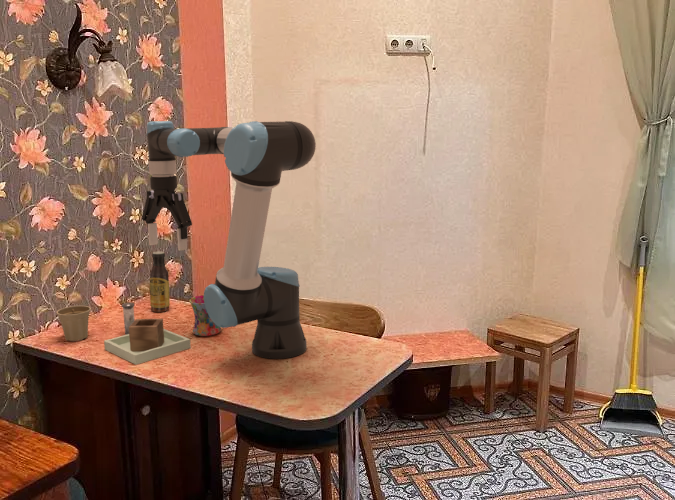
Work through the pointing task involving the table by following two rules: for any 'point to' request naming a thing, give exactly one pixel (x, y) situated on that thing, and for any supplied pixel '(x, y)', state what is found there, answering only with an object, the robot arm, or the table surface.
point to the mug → (202, 318)
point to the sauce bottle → (159, 284)
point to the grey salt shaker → (128, 315)
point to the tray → (170, 346)
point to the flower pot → (74, 322)
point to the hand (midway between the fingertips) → (167, 247)
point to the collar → (146, 334)
